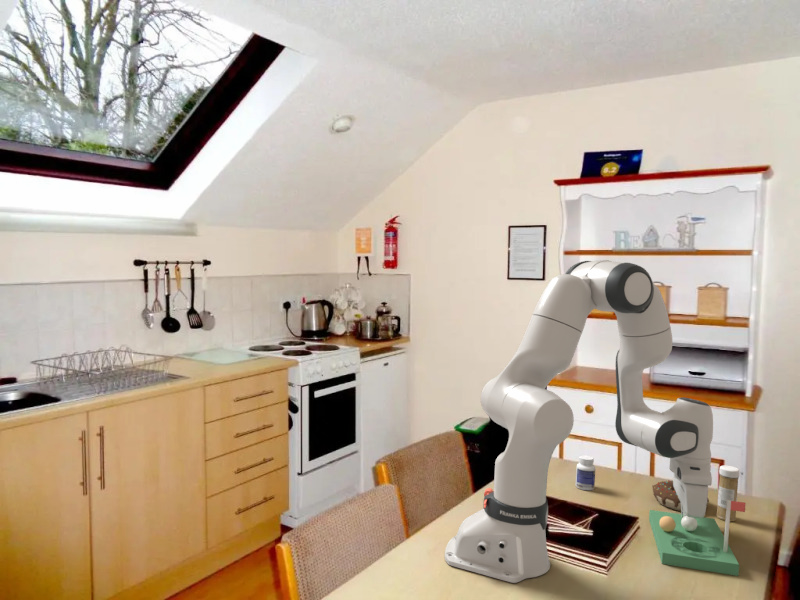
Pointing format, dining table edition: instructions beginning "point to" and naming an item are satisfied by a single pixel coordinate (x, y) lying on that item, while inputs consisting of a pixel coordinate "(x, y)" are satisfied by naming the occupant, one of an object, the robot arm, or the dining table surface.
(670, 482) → the donut
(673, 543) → the putting mat
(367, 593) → the dining table surface
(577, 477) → the pill bottle
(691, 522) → the white ball
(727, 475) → the sprinkles bottle
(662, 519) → the orange ball
